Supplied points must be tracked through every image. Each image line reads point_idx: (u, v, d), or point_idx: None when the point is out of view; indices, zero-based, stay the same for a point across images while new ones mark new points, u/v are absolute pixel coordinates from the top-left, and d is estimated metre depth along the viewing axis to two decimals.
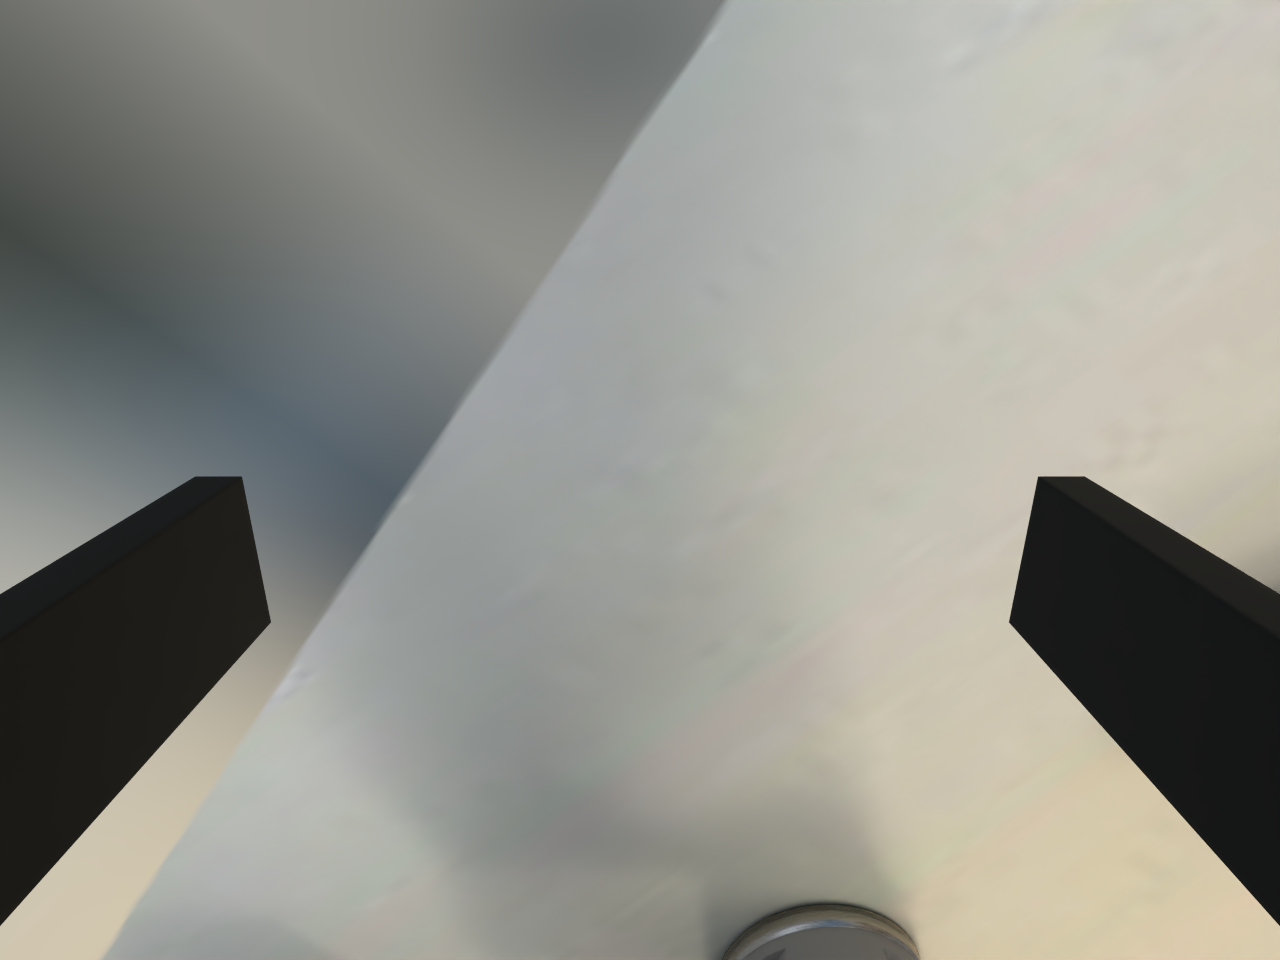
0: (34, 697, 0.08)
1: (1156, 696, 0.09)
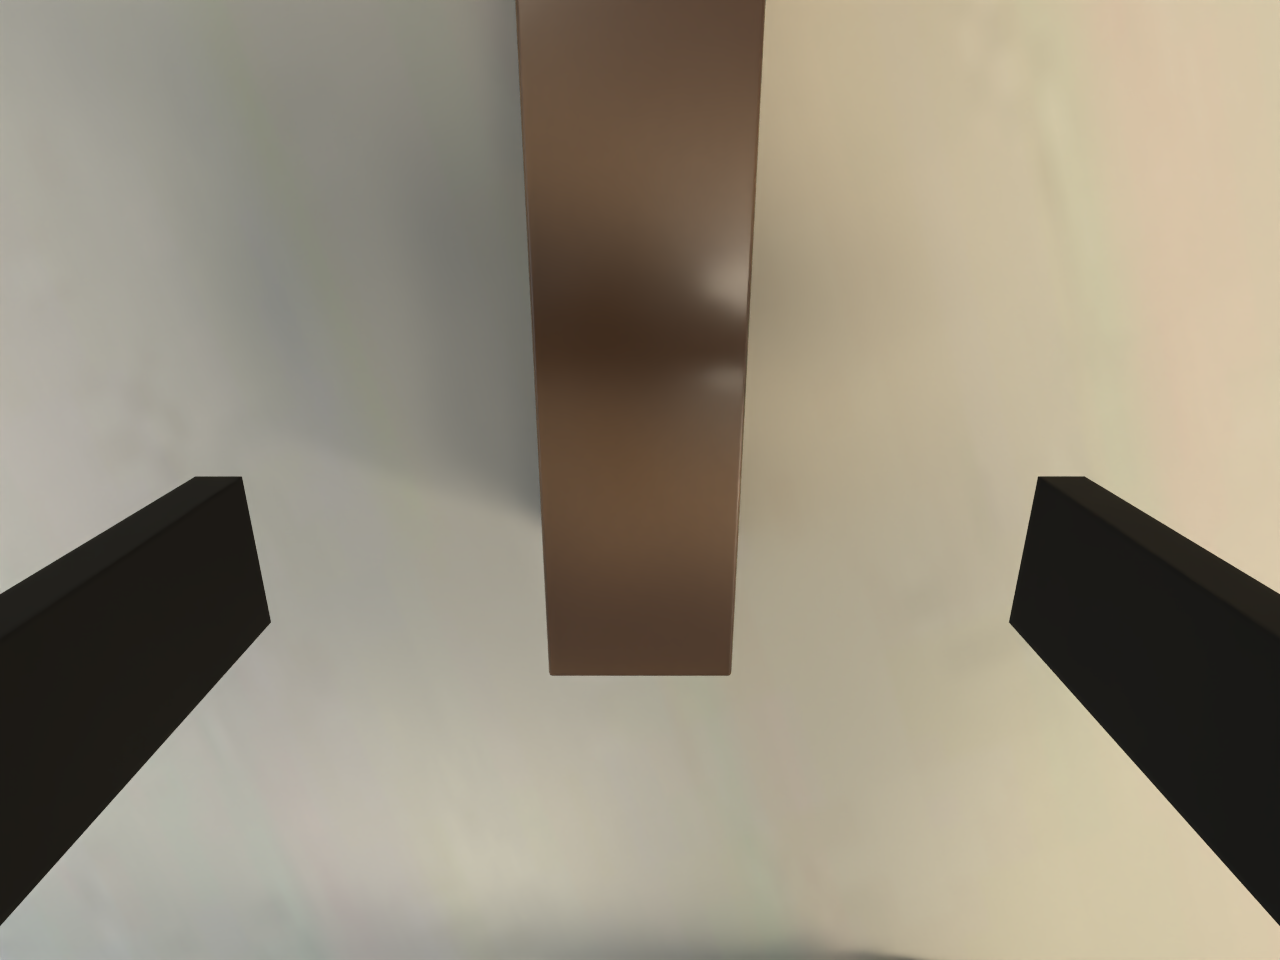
0: (34, 697, 0.08)
1: (1156, 696, 0.09)
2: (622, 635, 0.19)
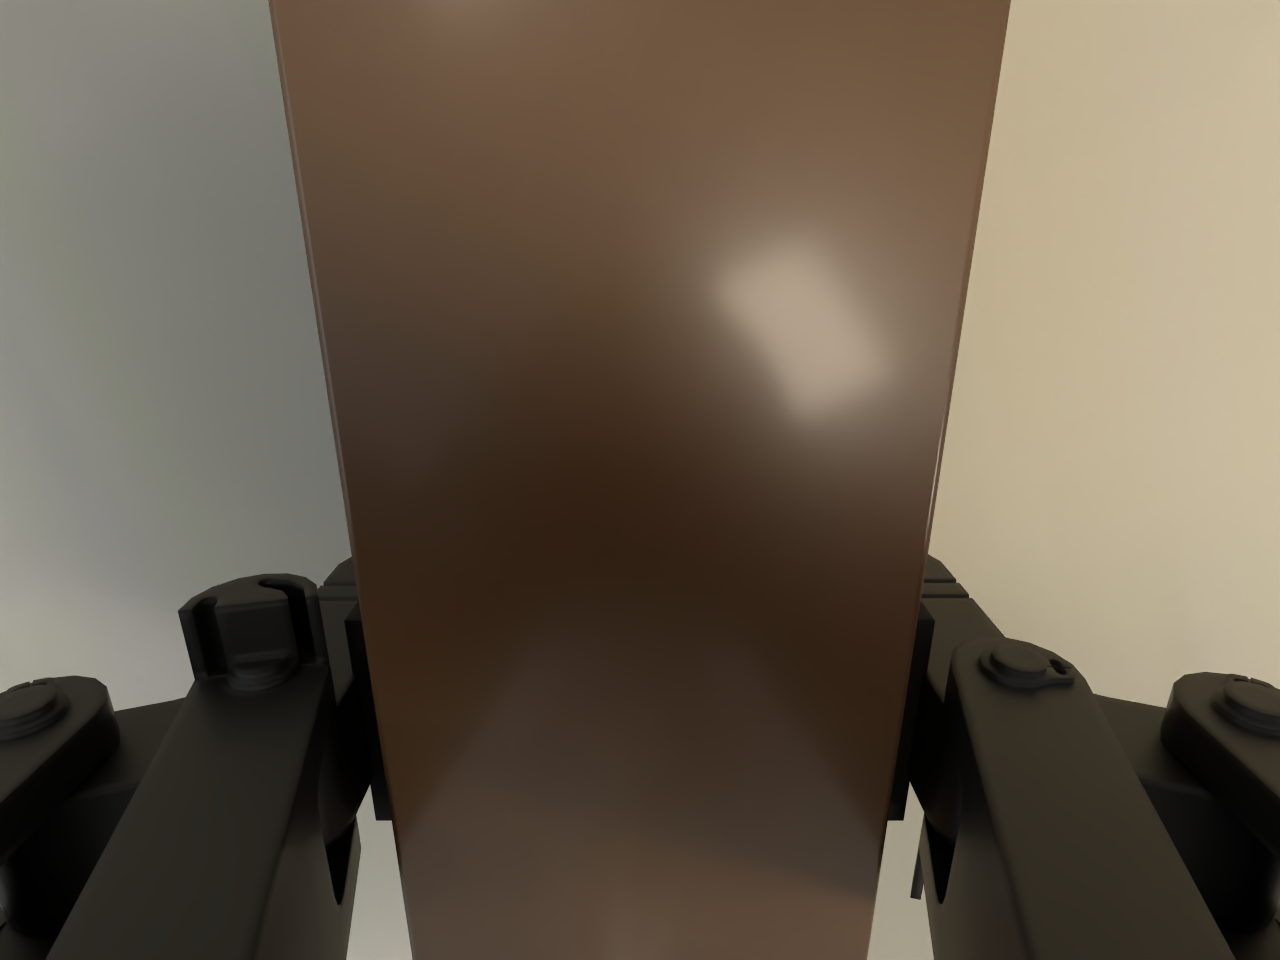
0: None
1: None
2: None
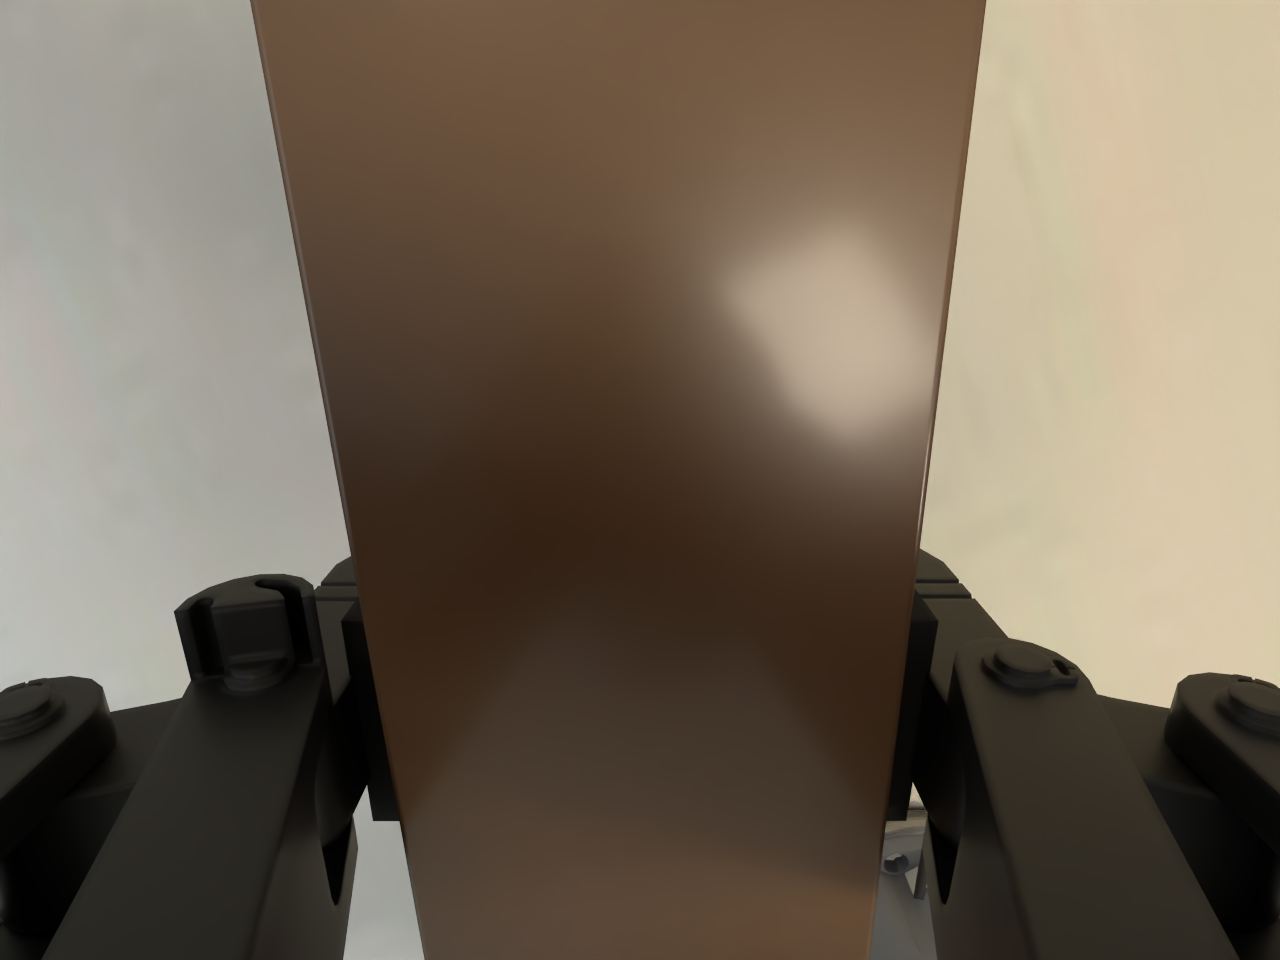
0: None
1: None
2: None
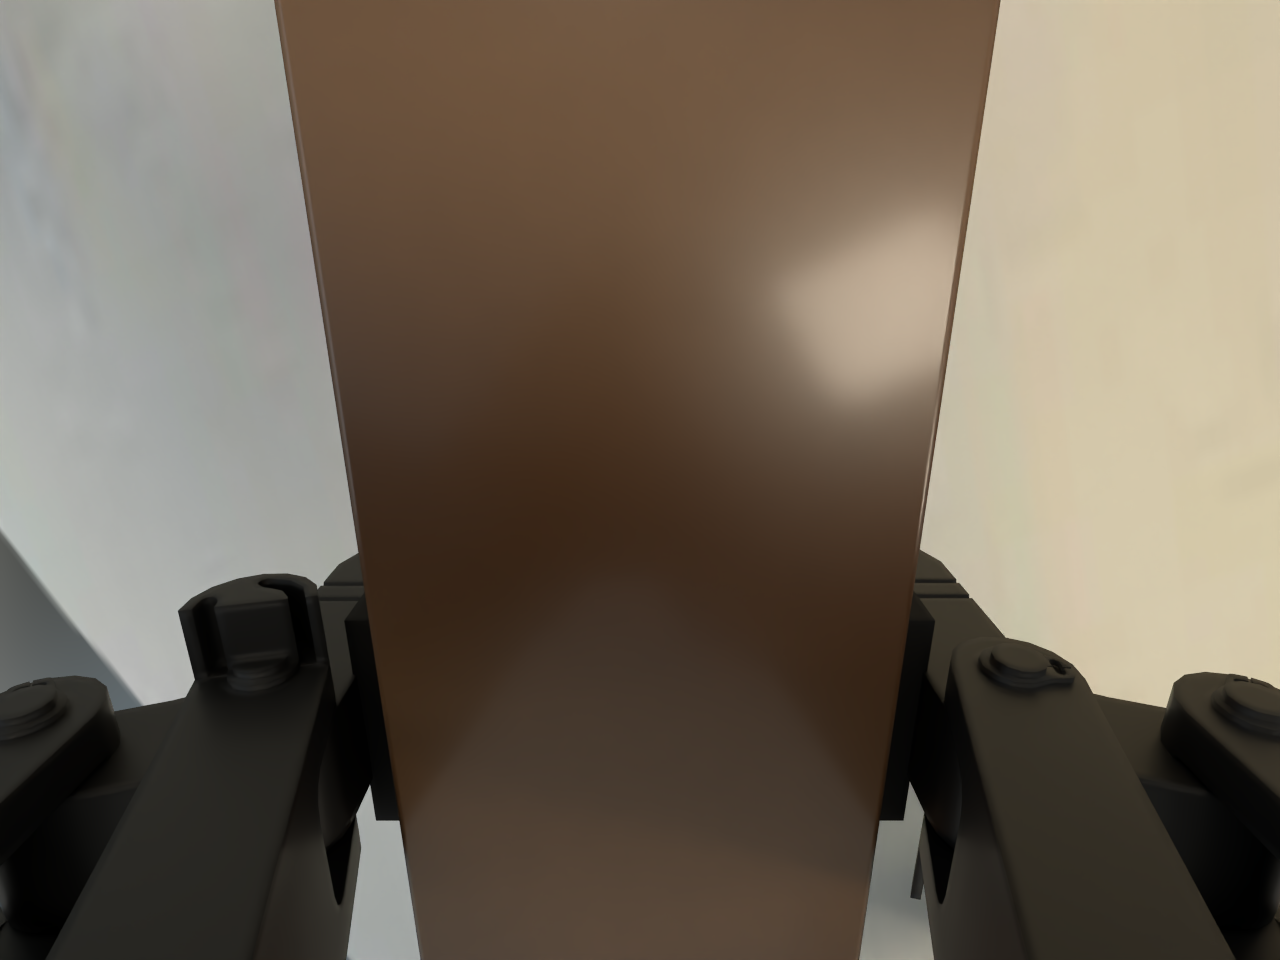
0: None
1: None
2: None
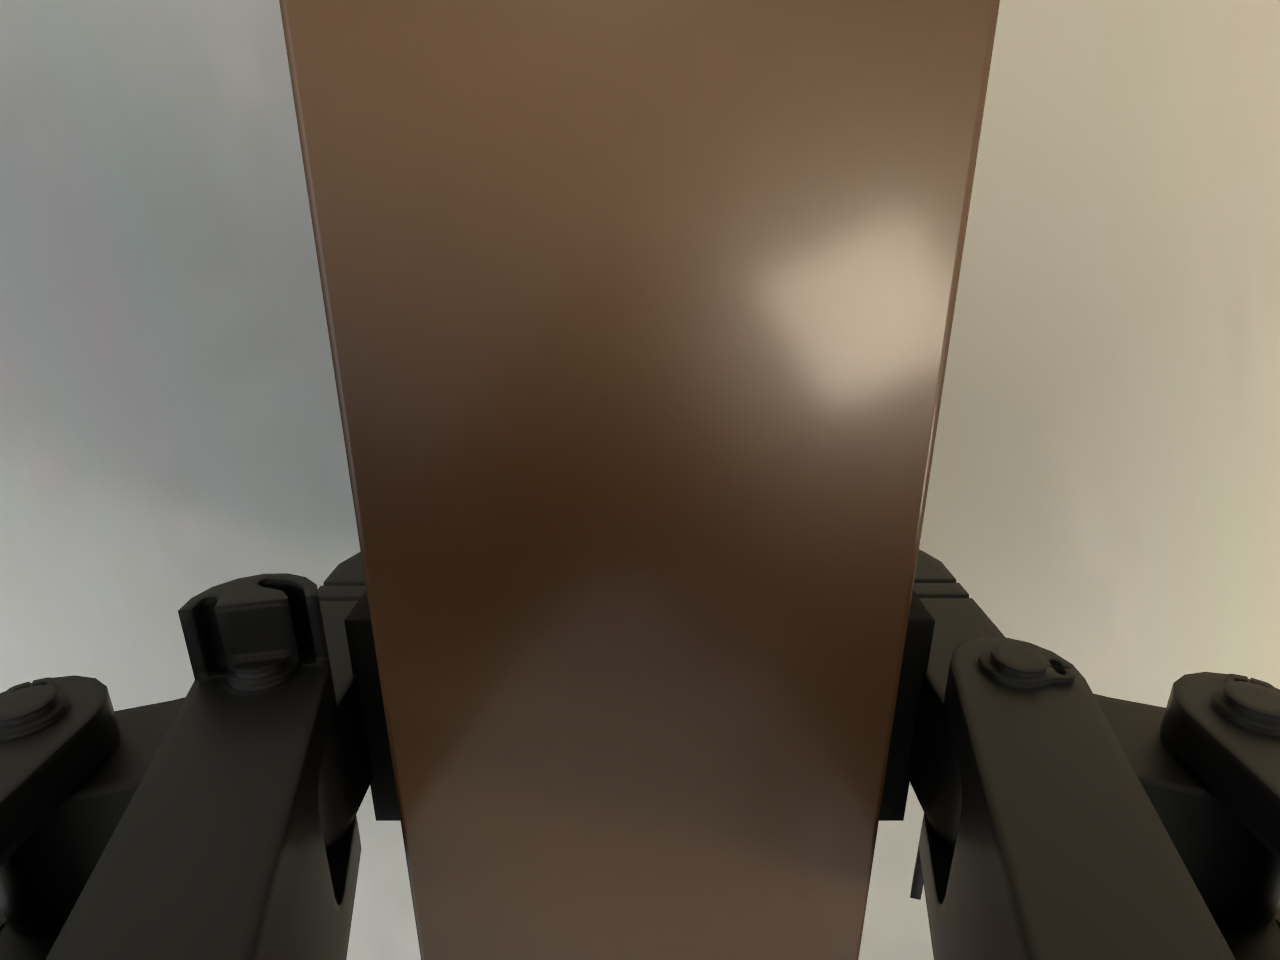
0: None
1: None
2: None
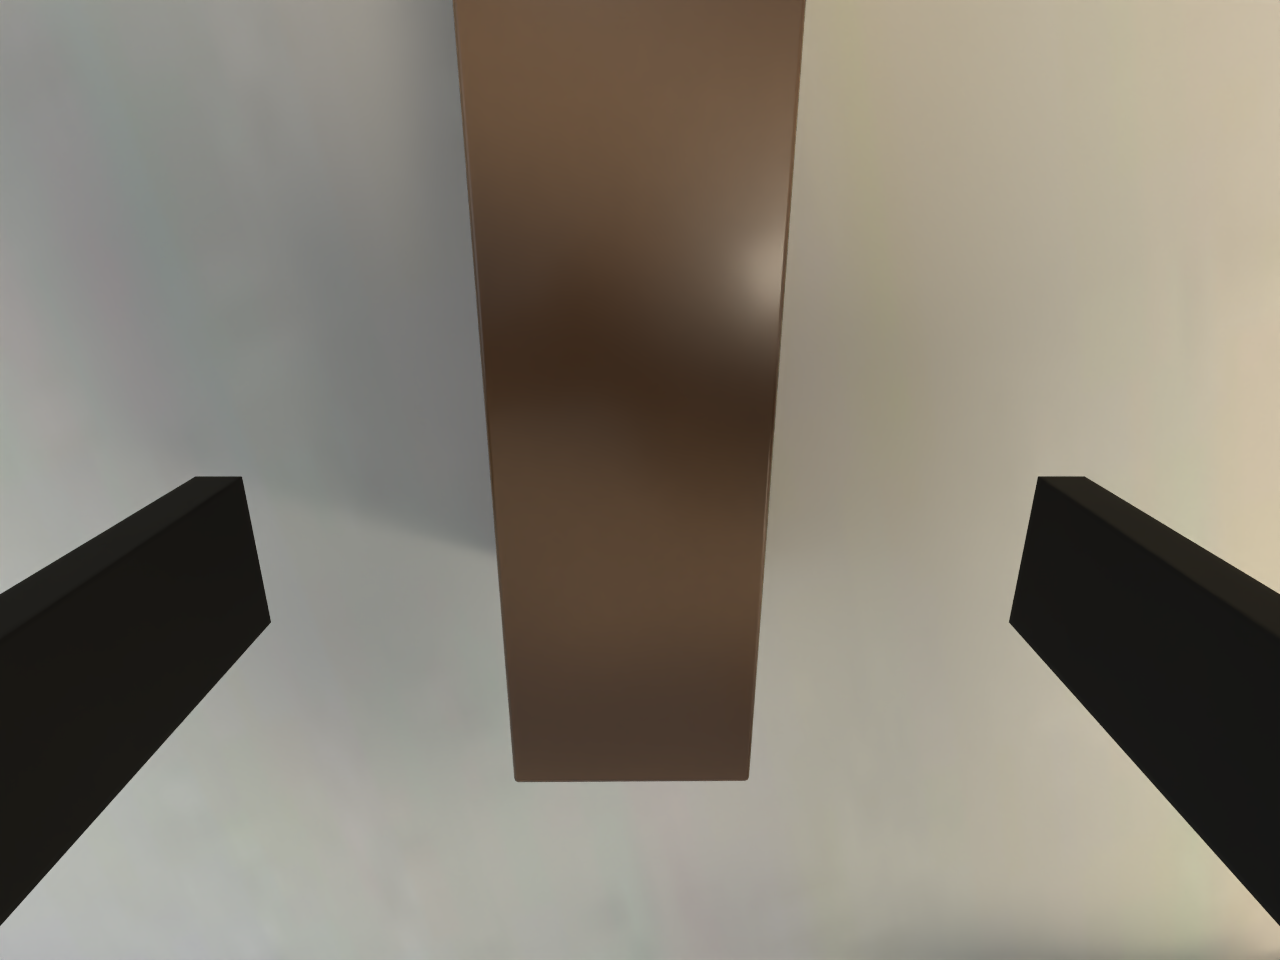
0: (34, 697, 0.08)
1: (1156, 696, 0.09)
2: (608, 733, 0.14)
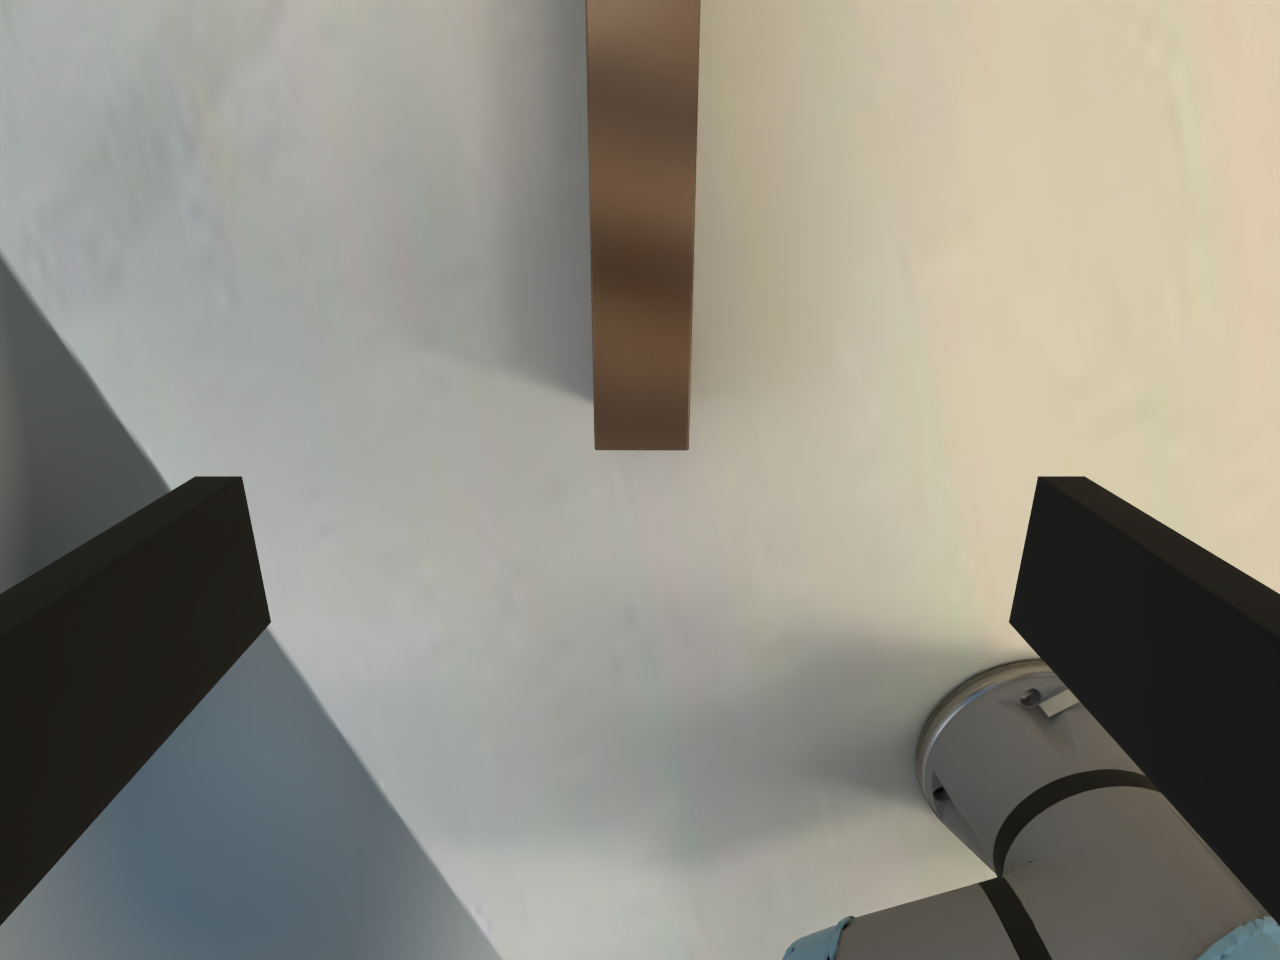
0: (34, 697, 0.08)
1: (1156, 696, 0.09)
2: (632, 426, 0.36)
